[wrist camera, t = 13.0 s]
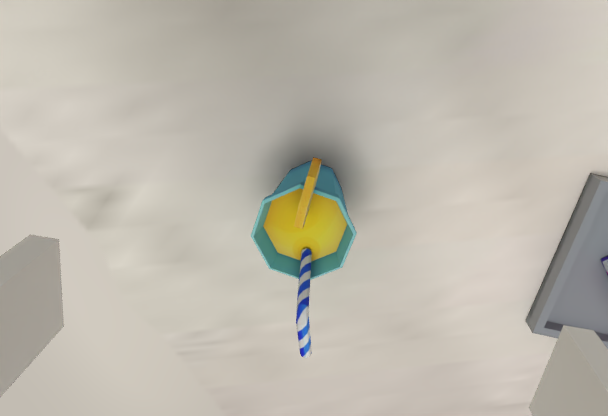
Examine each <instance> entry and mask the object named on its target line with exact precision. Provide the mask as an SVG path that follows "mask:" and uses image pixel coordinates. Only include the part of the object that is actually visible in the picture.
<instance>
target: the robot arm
mask: <svg viewBox="0 0 608 416" xmlns="http://www.w3.org/2000/svg"><path fill="white" fill-rule="evenodd" d="M63 326H64V324H63V307H62V287H61V269H60V249H59V239H53V238H48V237H42V236H36V235H29V236H28V237H26V238H25V239H23V240H22V241H21V242H19V243H18V244H16V245H15V246H14V247H13V248H11V249H10V250H8V251H7V252H5V253H4V254H3V255H1V256H0V397H1V396H2V395H3V394H4V393H5V392H6V391H7V389H8V388H9V387H10V386H11V385H12V384H13V383H14V382H15V380H16V379H17V378H18V377H19V376H20V375H21V374H22V373H23V371H24V370H25V369H26V368H27V367H28V366H29V365H30V364H31V362H32V361H33V360H34V359H35V358H36V356H38V355H39V353H40V352H41V351H42V350H43V349H44V348H45V347H46V346H47V344H48V343H49V342H50V341H51V340H52V339H53V338H54V337H55V335H56V334H57V333H58V332H59V331H60V330H61V329H62V328H63ZM529 408H530V411H531V413H532V415H533V416H608V349H607V347H606V346H605V345H604V343H603V342H602V341H601V339H600V338H599V337H598V335H597V334H596V333H595V331H594V330H588V329H583V328H577V327H571V326H565V325H563V328H562V330H561V333H560V335H559V337H558V340H557V342H556V345H555V347H554V349H553V352H552V354H551V357H550V359H549V361H548V364H547V366H546V368H545V371H544V373H543V376H542V378H541V380H540V383H539V385H538V388H537V390H536V392H535V395H534V397H533V400H532V402H531V404H530V407H529Z"/></svg>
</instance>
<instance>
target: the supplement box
mask: <svg viewBox="0 0 608 416" xmlns="http://www.w3.org/2000/svg"><path fill="white" fill-rule="evenodd" d="M601 262H602V264H603V267H604V269H605V271H606V273H607V276H608V256H606V257H603V258H602V259H601Z"/></svg>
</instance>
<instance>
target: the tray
mask: <svg viewBox="0 0 608 416" xmlns="http://www.w3.org/2000/svg"><path fill="white" fill-rule="evenodd" d="M606 256H608V177H604V176H600V175H595V174H591V173H590V175H589V178H588V180H587V182H586V185H585V187H584V189H583V191H582V194H581V196H580V198H579V200H578V203H577V205H576V207H575V210H574V212H573V214H572V216H571V219H570V221H569V223H568V225H567V228H566V230H565V232H564V235H563V237H562V239H561V241H560V244H559V246H558V248H557V251H556V253H555V255H554V257H553V260H552V262H551V264H550V266H549V269H548V271H547V273H546V276H545V278H544V280H543V282H542V285H541V287H540V289H539V292H538V294H537V296H536V298H535V301H534V303H533V305H532V307H531V310H530V312H529V314H528V317H527V319H526V322H527V324H528V326H529V327H530V329H531V331H532V333H536V334H540V335H545V336H549V337H554V338H558V337H559V335H560V333H561V330H562V328H563V325H565V326H571V327H577V328H583V329H588V330H594V331H595V333H596V334H597V335H598V337H599V338H600V339H601V341H602V342H603V343H604V345H605V346H606V347H607V349H608V276H607V273H606V271H605V269H604V267H603V264H602V262H601V259H602V258H603V257H606Z"/></svg>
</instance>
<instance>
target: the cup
mask: <svg viewBox="0 0 608 416" xmlns="http://www.w3.org/2000/svg"><path fill="white" fill-rule="evenodd" d="M355 236H356V231H355V228H354V226H353V224H352V222H351V220H350V218H349V216H348V214H347V210H346V205H345V201H344V197H343V193H342V189H341V186H340V184H339V182H338V180H337V178H336V176H335V174H334V172H333V170H332V168H330V167H327V166H324V165H321V159H318V158H314V157H313V160H312V161H309V162H307V163H305V164H302V165H300V166H298V167H296V168H294V169H291V170H290V171H289V173H288V174H287V175H286V177H285V178H284V179H283V181H282V182H281V183H280V185H279V186H278V188H277V189H276V190H275V192H274V193H273V194H272V195H270V196H268V197H266V198H265V199H264V200H263V201H262V204H261V207H260V210H259V213H258V216H257V219H256V222H255V225H254V228H253V231H252V234H251V237H252V239H253V241H254V242H255V244H256V246H257V248H258V250H259V251H260V253H261V255H262V257H263V258H264V260H265V262H266V264H267V266H268V267H269V269H272V270H274V271H277V272H280V273H283V274H286V275H289V276H292V277H295V278H298V279H299V287H298V299H297V318H296V324H297V332H298V340H299V347H300V354H301V356H302V357H304V358H307V357H310V355H311V353H312V352H311V340H310V327H309V291H310V280H311V279H314V278H316V277H319V276H321V275H324V274H327V273H329V272H332V271H334V270H337V269H339V268H342V266H343V264H344V262H345V259H346V257H347V254H348V252H349V250H350V247H351V245H352V243H353V240H354V238H355Z"/></svg>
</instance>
